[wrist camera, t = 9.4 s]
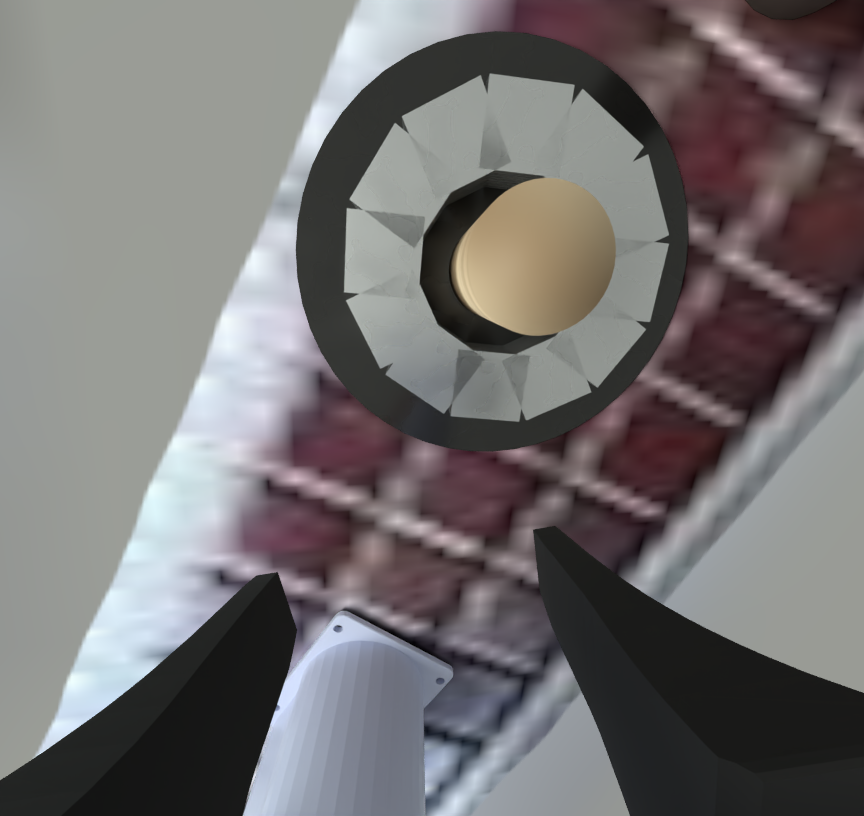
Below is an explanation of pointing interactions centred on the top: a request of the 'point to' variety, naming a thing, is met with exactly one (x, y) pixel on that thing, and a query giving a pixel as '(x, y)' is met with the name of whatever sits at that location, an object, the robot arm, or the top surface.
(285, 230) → the top surface
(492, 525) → the top surface
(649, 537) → the top surface
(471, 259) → the peg
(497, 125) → the rosette
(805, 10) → the coffee cup
